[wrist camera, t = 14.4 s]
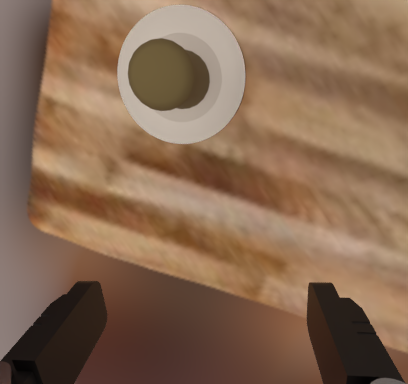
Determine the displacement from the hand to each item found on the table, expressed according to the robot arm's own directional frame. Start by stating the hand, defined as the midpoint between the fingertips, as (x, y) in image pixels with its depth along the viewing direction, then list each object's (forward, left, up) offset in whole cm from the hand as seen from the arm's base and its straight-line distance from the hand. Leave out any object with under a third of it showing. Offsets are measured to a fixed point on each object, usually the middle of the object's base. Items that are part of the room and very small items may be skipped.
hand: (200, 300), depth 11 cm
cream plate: (+4, -9, -25) cm, 27 cm away
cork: (+4, -9, -24) cm, 26 cm away
